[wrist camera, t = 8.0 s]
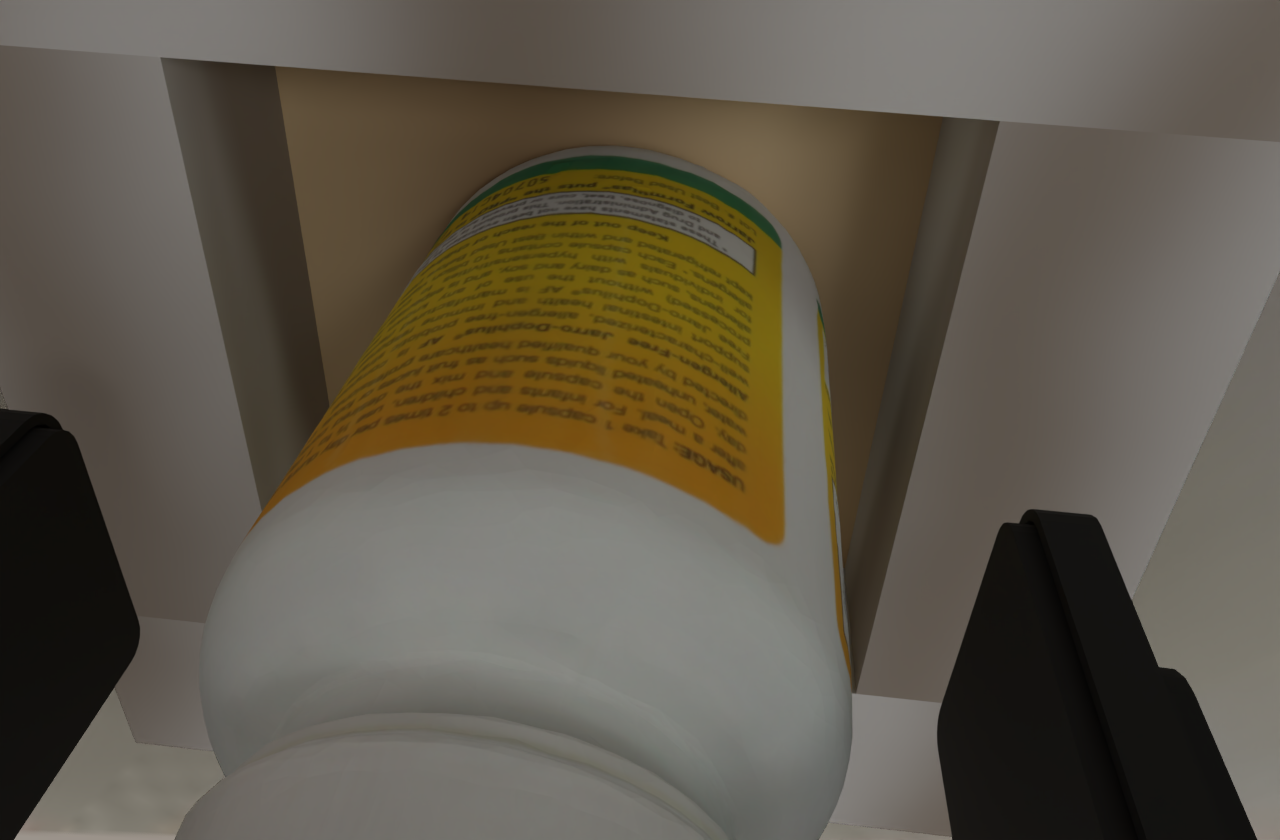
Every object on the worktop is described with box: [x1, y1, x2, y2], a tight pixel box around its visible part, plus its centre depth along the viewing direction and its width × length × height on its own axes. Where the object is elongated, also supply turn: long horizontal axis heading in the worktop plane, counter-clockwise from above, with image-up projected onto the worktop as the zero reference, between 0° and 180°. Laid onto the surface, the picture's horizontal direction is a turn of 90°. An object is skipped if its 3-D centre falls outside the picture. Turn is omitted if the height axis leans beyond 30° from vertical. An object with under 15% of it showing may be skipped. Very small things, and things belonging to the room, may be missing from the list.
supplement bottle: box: [175, 145, 853, 840], centre depth 10 cm, size 5×5×10 cm
